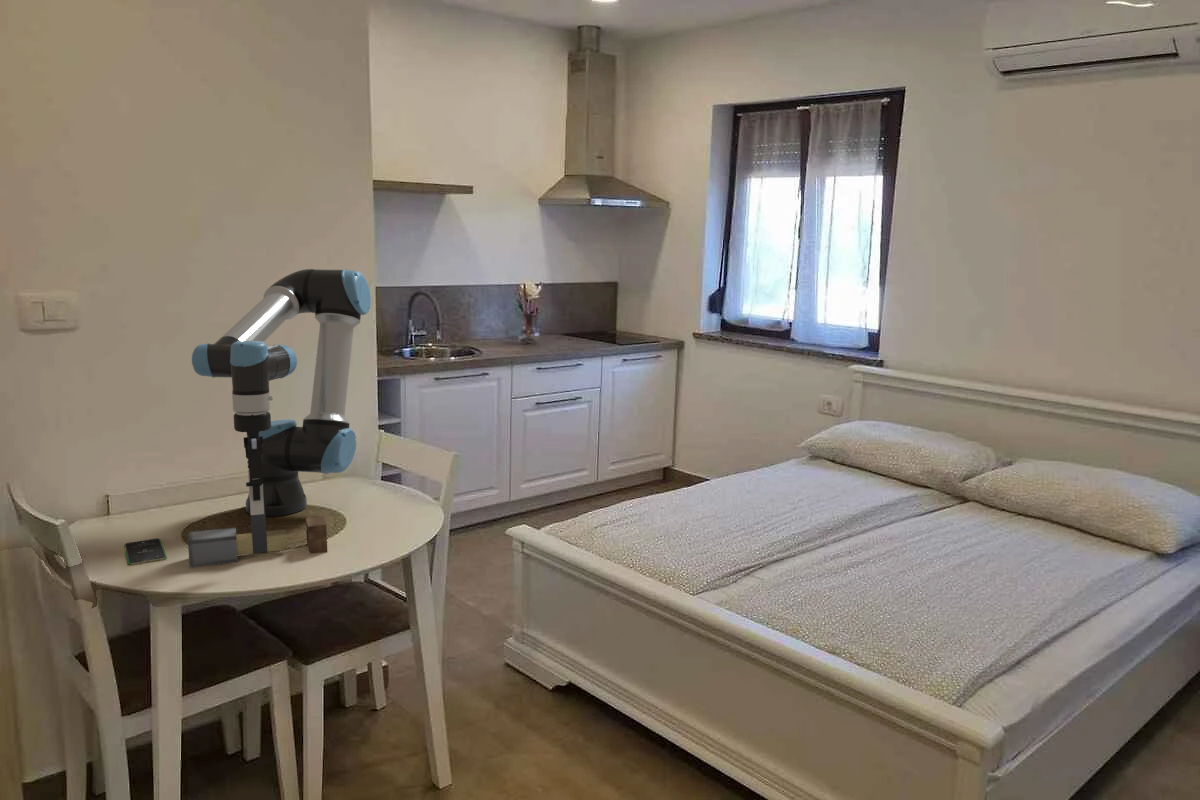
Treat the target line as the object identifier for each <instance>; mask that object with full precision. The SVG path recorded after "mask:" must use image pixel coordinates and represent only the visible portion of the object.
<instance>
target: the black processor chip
mask: <svg viewBox="0 0 1200 800" xmlns="http://www.w3.org/2000/svg"><path fill="white" fill-rule="evenodd" d="M123 547H124V548H123V549H124V551H125V556H126V560H127V564H128V565H129V566H137V565H143V564H149V563H154V562H160V561H161V562H162V561H167V554H166V552H165V547H164V546H163V542H162V541H161V539H160V538H157V537H156V538H150V539H143V540H138V541H131V542H126V543H125V544H124V545H123Z"/></svg>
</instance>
